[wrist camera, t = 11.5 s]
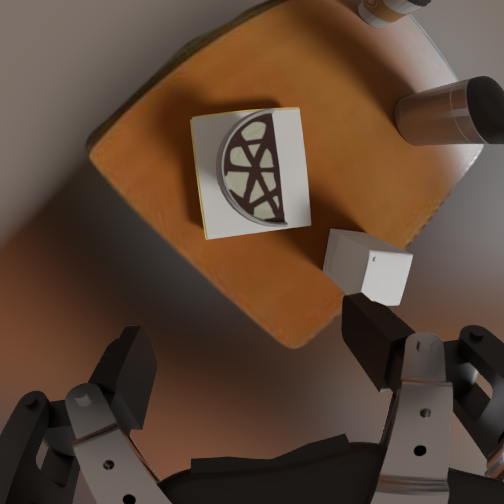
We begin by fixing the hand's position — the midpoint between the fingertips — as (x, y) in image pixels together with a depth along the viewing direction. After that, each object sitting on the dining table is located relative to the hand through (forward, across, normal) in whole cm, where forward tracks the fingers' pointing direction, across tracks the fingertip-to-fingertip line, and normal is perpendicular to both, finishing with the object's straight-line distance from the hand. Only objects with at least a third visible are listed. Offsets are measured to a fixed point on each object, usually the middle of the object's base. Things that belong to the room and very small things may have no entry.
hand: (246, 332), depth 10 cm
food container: (+26, -2, -6) cm, 27 cm away
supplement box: (+30, -18, +8) cm, 36 cm away
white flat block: (+30, -4, -6) cm, 31 cm away
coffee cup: (+30, -30, -36) cm, 56 cm away
